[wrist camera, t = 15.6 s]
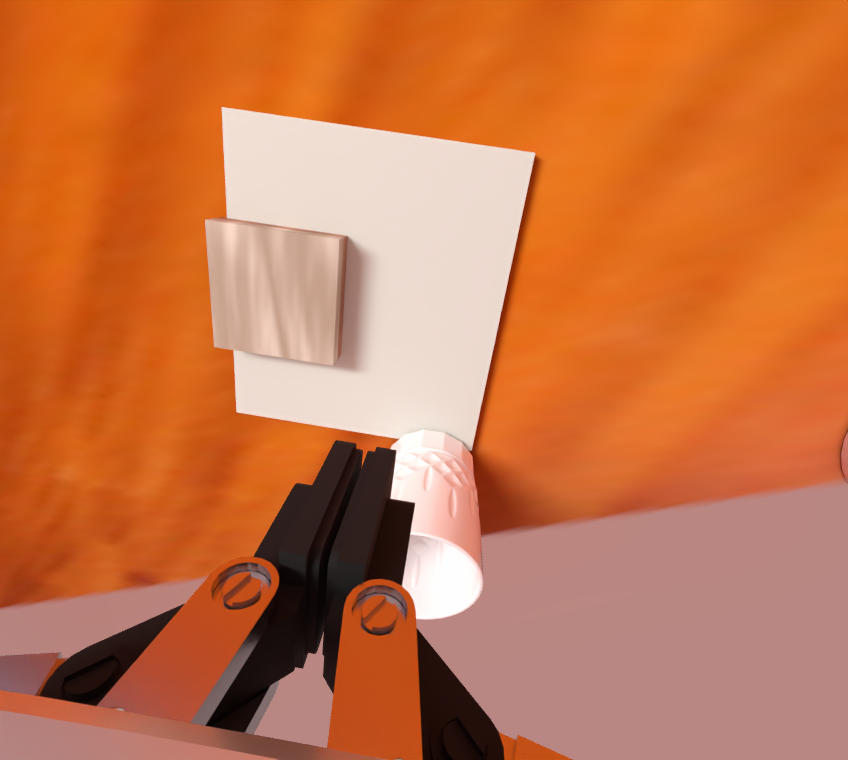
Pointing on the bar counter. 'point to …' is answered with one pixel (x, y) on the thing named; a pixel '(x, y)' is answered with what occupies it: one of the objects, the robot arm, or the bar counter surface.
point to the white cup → (439, 523)
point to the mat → (384, 268)
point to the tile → (276, 289)
